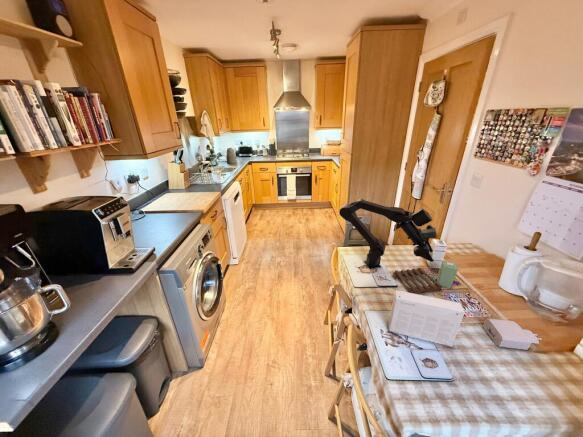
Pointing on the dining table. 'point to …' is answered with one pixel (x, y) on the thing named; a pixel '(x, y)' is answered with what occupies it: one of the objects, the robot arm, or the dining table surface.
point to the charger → (509, 334)
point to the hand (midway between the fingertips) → (432, 256)
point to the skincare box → (425, 317)
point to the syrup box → (437, 253)
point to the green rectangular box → (447, 274)
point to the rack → (418, 289)
